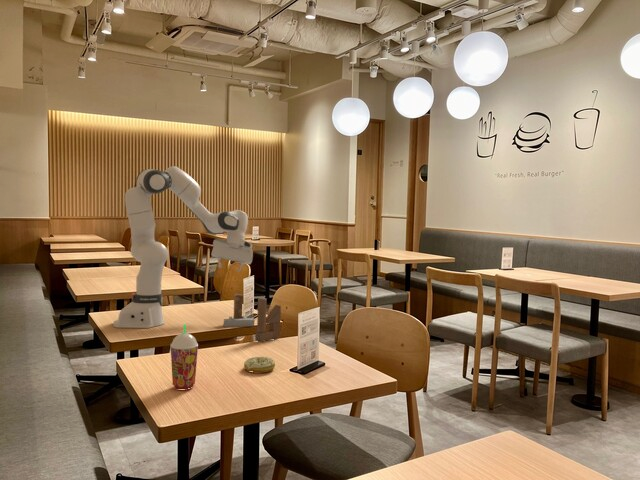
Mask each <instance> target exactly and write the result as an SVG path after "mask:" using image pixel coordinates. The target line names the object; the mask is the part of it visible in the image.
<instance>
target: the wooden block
mask: <svg viewBox="0 0 640 480" xmlns="http://www.w3.org/2000/svg"><path fill="white" fill-rule="evenodd" d="M281 309H282V307H281V305H279V304H275V305H274V306H273V308H272V309H271V310H270V312H269V313H268V314H267V298H265V297H259V298H257V318H256V319H257V321H256V323H257V325H256V330H257V331H255V338H254V339H255V341H257V342H265V341H271V340H276V339H280V338H281V314H282V313H281ZM267 325H268V329H267Z"/></svg>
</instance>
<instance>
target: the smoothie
mask: <svg viewBox="0 0 640 480" xmlns="http://www.w3.org/2000/svg"><path fill="white" fill-rule="evenodd" d="M186 328H187V324H186V323H185V324H183V332H182V333H179V334H177V335H176V336H175V337H174V338H173V340H172V342H171V343H170V358H171V378H172V385H173V387H175V388H176V389H188V388H191V387H193V388H194V385H195V384H196V375H197V374H196V373H197V362H198V361H197V360H198V350H199V343H198V342H197V339H196V337H195V336H194V335H192V333H191V334H190V333H188V332H187V331H186V330H187V329H186ZM175 388H174V389H175ZM176 389H175V390H176Z"/></svg>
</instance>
